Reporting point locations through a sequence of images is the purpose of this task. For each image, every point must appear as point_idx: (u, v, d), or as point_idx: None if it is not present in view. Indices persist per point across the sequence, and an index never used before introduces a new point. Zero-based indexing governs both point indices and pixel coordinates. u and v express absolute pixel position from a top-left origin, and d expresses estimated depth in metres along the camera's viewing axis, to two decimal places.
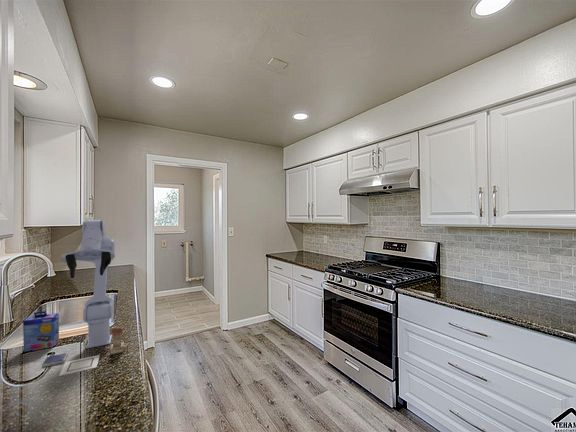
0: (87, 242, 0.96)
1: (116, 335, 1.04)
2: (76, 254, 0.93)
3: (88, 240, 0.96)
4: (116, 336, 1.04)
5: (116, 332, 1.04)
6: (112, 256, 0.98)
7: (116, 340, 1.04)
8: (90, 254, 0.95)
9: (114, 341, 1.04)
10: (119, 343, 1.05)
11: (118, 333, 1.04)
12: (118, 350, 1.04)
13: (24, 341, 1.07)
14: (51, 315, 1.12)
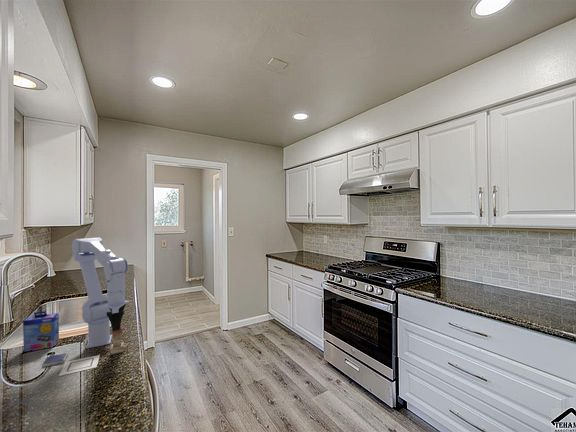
0: (124, 294, 1.06)
1: (116, 335, 1.04)
2: None
3: (124, 291, 1.07)
4: (116, 336, 1.04)
5: (116, 332, 1.04)
6: None
7: (116, 340, 1.04)
8: None
9: (114, 341, 1.04)
10: (119, 343, 1.05)
11: (118, 333, 1.04)
12: (118, 350, 1.04)
13: (24, 341, 1.07)
14: (51, 315, 1.12)
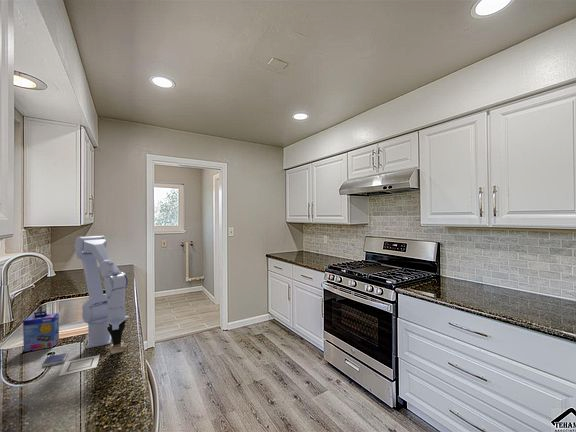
0: (124, 309, 1.06)
1: None
2: None
3: None
4: None
5: None
6: None
7: None
8: None
9: None
10: None
11: None
12: (118, 350, 1.04)
13: (24, 341, 1.07)
14: (51, 315, 1.12)
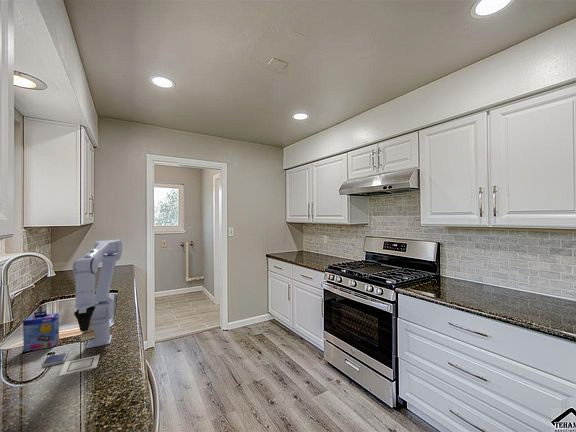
0: (94, 294, 1.02)
1: None
2: None
3: (94, 292, 1.03)
4: None
5: None
6: None
7: None
8: None
9: None
10: (89, 329, 1.01)
11: None
12: (89, 336, 0.99)
13: (24, 341, 1.07)
14: (51, 315, 1.12)
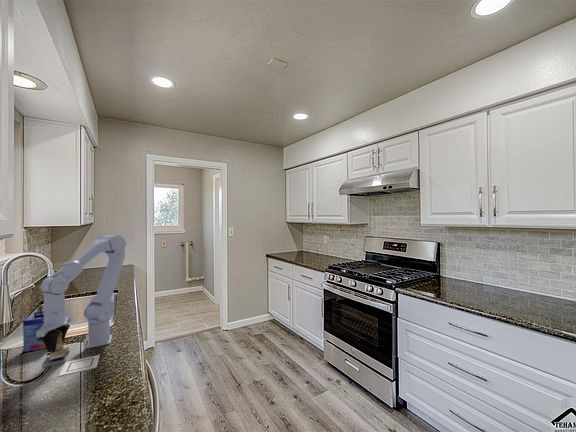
0: (61, 315, 0.99)
1: None
2: None
3: (62, 312, 0.99)
4: None
5: None
6: None
7: None
8: None
9: None
10: (58, 348, 0.98)
11: None
12: (57, 355, 0.97)
13: (24, 341, 1.07)
14: None
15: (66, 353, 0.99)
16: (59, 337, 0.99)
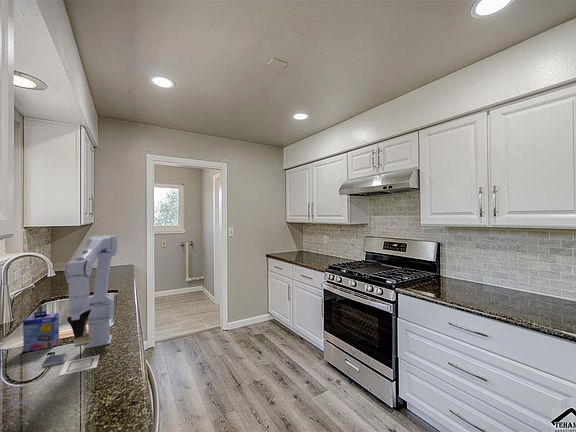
0: (88, 298, 0.97)
1: None
2: None
3: (88, 296, 0.97)
4: None
5: None
6: None
7: None
8: None
9: None
10: (84, 334, 0.96)
11: None
12: (83, 341, 0.95)
13: (24, 341, 1.07)
14: (51, 315, 1.12)
15: (90, 339, 0.98)
16: (85, 323, 0.96)
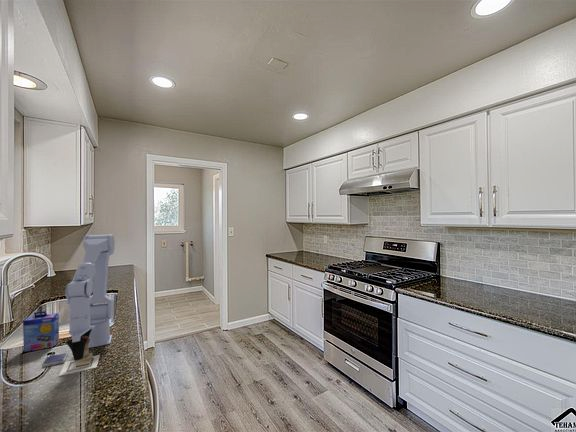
0: (89, 319, 0.97)
1: None
2: None
3: (89, 316, 0.97)
4: None
5: None
6: None
7: None
8: None
9: None
10: (86, 354, 0.96)
11: None
12: (84, 362, 0.95)
13: (24, 341, 1.07)
14: (51, 315, 1.12)
15: (91, 359, 0.98)
16: (87, 343, 0.97)
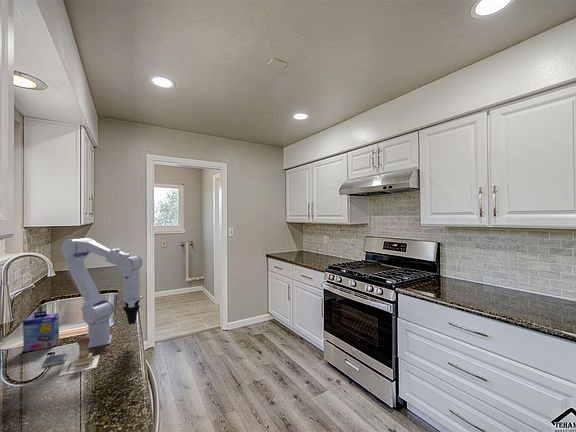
0: (139, 289, 1.12)
1: (82, 345, 0.96)
2: None
3: (139, 287, 1.12)
4: (82, 346, 0.96)
5: (82, 342, 0.95)
6: None
7: (82, 350, 0.96)
8: None
9: (80, 352, 0.96)
10: (86, 354, 0.96)
11: (84, 343, 0.96)
12: (84, 362, 0.95)
13: (24, 341, 1.07)
14: (51, 315, 1.12)
15: (91, 359, 0.98)
16: (87, 343, 0.97)
